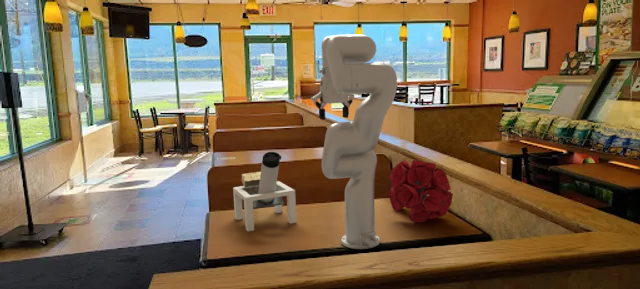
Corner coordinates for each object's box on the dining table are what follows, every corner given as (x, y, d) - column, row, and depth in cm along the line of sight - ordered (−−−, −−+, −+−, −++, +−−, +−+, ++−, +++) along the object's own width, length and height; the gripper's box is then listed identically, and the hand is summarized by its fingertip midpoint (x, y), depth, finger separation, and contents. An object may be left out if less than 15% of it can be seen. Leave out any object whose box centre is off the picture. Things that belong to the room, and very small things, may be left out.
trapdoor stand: (296, 222, 167) (295, 190, 165) (247, 231, 159) (245, 197, 157) (280, 210, 183) (278, 181, 181) (235, 218, 175) (233, 187, 173)
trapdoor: (284, 204, 169) (285, 195, 166) (251, 209, 163) (252, 200, 161) (271, 178, 180) (272, 170, 178) (239, 183, 175) (240, 174, 172)
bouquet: (377, 232, 172) (413, 214, 146) (366, 175, 181) (399, 147, 154) (425, 228, 179) (468, 210, 153) (413, 173, 188) (452, 146, 161)
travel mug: (273, 204, 166) (280, 162, 155) (256, 201, 166) (261, 158, 155) (276, 193, 172) (282, 152, 161) (259, 190, 171) (264, 148, 160)
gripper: (315, 72, 157) (317, 120, 160) (358, 71, 165) (359, 117, 167) (307, 73, 164) (309, 119, 167) (348, 72, 171) (349, 116, 174)
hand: (334, 118), depth 167 cm, fingers open, 9 cm apart
